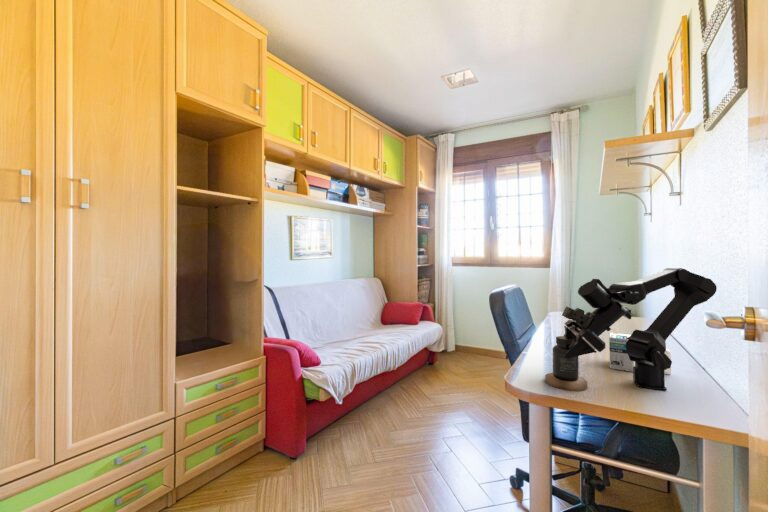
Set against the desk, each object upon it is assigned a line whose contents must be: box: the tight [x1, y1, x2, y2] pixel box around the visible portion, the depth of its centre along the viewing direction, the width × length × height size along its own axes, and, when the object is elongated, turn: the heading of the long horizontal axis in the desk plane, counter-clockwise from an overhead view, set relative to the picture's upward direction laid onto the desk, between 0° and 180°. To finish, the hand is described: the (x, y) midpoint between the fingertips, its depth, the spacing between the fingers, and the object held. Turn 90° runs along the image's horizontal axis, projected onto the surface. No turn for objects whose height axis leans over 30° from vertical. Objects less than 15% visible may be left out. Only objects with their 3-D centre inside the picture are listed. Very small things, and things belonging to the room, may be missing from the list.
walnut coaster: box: [544, 372, 588, 392], centre depth 97 cm, size 11×11×2 cm
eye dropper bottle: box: [664, 348, 672, 376], centre depth 108 cm, size 4×6×12 cm
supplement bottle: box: [552, 335, 580, 381], centre depth 98 cm, size 7×7×12 cm
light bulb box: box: [608, 331, 635, 373], centre depth 114 cm, size 11×7×11 cm, turn 143°
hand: (561, 353), depth 98 cm, fingers open, 9 cm apart
